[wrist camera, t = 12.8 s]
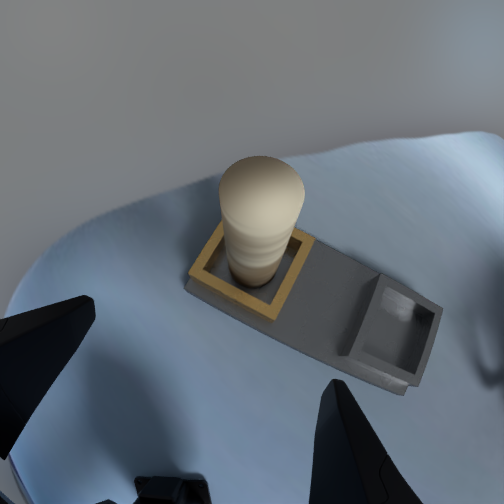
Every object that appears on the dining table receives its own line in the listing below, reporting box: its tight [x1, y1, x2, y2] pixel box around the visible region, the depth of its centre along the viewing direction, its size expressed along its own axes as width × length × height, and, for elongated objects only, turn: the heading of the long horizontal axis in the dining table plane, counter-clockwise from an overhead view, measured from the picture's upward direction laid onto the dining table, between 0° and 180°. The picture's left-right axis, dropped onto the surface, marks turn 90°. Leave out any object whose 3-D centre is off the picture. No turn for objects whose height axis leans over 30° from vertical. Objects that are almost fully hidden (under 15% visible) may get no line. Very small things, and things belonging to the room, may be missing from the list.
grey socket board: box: [184, 220, 443, 396], centre depth 22 cm, size 21×9×3 cm, turn 62°
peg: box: [219, 156, 305, 288], centre depth 18 cm, size 4×4×11 cm
